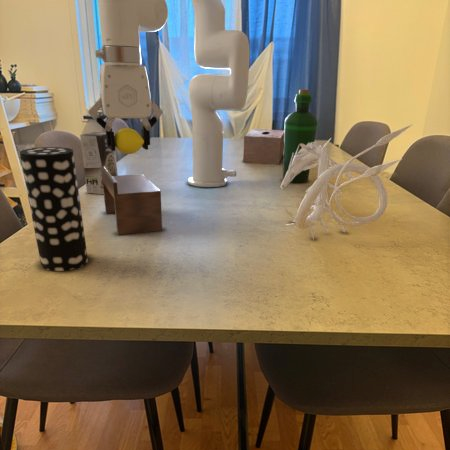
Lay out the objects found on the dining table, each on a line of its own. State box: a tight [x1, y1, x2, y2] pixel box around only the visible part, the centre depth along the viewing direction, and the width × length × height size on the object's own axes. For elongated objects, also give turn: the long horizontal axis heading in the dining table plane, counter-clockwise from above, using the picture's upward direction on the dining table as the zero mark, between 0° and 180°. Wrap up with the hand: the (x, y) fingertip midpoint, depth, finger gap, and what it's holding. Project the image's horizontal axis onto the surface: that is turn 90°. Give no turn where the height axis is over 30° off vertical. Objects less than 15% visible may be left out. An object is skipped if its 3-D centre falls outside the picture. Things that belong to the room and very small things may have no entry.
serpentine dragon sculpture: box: [279, 123, 413, 241], centre depth 93 cm, size 45×21×26 cm, turn 4°
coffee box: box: [79, 131, 119, 195], centre depth 125 cm, size 9×6×16 cm
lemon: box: [114, 127, 144, 155], centre depth 95 cm, size 7×5×5 cm
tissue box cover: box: [242, 128, 284, 165], centre depth 183 cm, size 26×14×10 cm, turn 169°
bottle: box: [282, 88, 319, 184], centre depth 140 cm, size 11×11×28 cm
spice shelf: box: [101, 166, 163, 236], centre depth 101 cm, size 10×18×11 cm, turn 22°
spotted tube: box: [19, 146, 89, 272], centre depth 76 cm, size 8×8×20 cm
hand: (129, 148), depth 96 cm, fingers closed on lemon, 6 cm apart
